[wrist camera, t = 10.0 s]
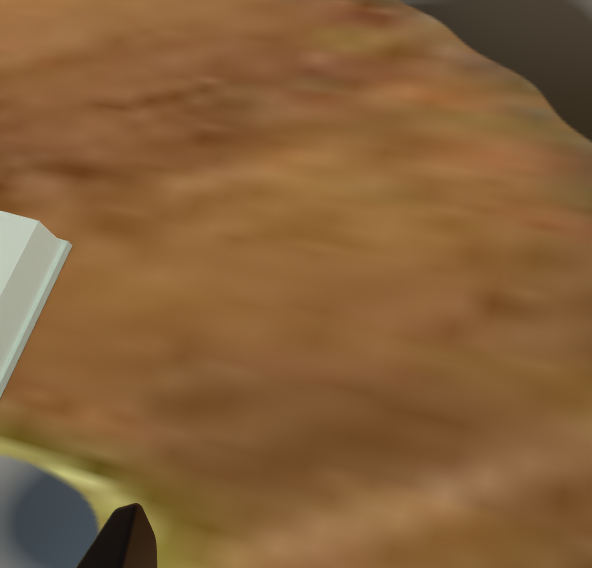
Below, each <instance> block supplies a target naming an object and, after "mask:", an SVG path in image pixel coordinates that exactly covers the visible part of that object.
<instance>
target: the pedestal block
mask: <svg viewBox="0 0 592 568" xmlns="http://www.w3.org/2000/svg"><path fill="white" fill-rule="evenodd" d="M71 247H72V245H71V244H70V243H69V242H68V241H65V240H61V239H57V238H56V237H55V236H54V235H53V234H52V233H51V232H50V231H49V230H48V229H47V228H46V227H45V226H43V225H42V224H41V223H40V222H39V221H37V220H33V219H30V218H26V217H22V216H18V215H14V214H10V213H7V212H3V211H0V398H1V395H2V393H3V391H4V389H5V387H6V385H7V383H8V381H9V379H10V376H11V374H12V372H13V370H14V368H15V366H16V364H17V362H18V359H19V357H20V355H21V353H22V351H23V349H24V347H25V345H26V343H27V340H28V338H29V336H30V334H31V332H32V330H33V328H34V326H35V323H36V321H37V319H38V317H39V315H40V313H41V311H42V309H43V307H44V304H45V302H46V300H47V298H48V296H49V294H50V292H51V290H52V287H53V285H54V283H55V281H56V279H57V277H58V275H59V273H60V271H61V268H62V266H63V264H64V262H65V260H66V258H67V256H68V254H69V251H70V249H71Z"/></svg>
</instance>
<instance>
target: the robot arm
mask: <svg viewBox="0 0 592 568" xmlns="http://www.w3.org/2000/svg"><path fill="white" fill-rule="evenodd" d="M76 568H157V546H156V539H155V535H154V532H153V530H152V528H151V525H150V523H149V521H148V519H147V517H146V514H145V512H144V510H143V508H142V506H141V505H140V504H138V503H134V504H130V505H127V506H123V507H120V508H117V509H116V510H115V511H114V512H113V513H112V514H111V516H110V517H109V519H108V520H107V522H106V523H105V525H104V526H103V528H102V529H101V531H100V532H99V534H98V535H97V537H96V539H95V540H94V541H93V543H92V545H91V546H90V547H89V549H88V550H87V552H86V553H85V555H84V556H83V558H82V559H81V561H80V562H79V564H78V565H77V567H76Z"/></svg>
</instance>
